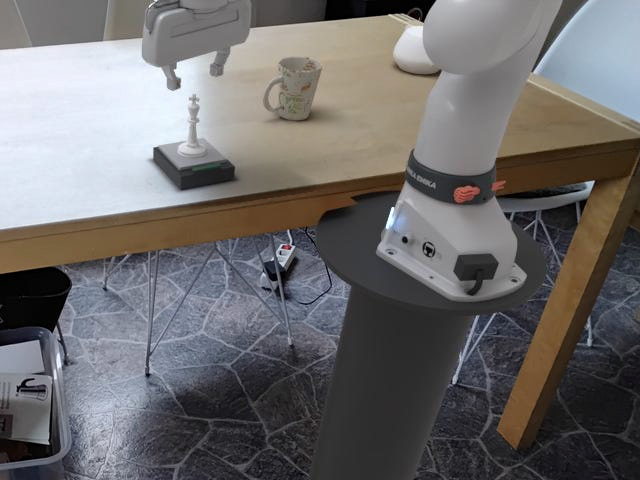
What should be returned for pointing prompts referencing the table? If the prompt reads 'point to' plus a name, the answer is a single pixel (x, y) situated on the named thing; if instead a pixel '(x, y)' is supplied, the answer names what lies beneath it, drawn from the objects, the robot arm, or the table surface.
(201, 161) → the scale
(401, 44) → the teapot
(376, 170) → the table surface
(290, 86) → the mug
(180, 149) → the chess piece
